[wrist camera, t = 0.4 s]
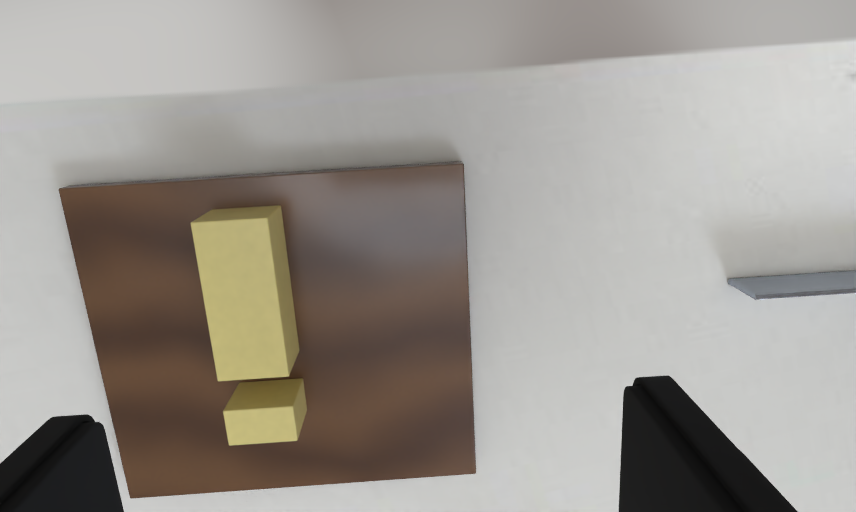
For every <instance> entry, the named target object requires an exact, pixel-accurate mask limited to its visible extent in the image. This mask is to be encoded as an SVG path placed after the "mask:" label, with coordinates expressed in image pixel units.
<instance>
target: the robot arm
mask: <svg viewBox="0 0 856 512" xmlns="http://www.w3.org/2000/svg"><path fill="white" fill-rule="evenodd" d="M0 512H124V511H123V506H122V502H121V498H120V493H119V489H118V485H117V480H116V476H115V472H114V468H113V463H112V459H111V455H110V450H109V446H108V442H107V437H106V433H105V429H104V427H103V425H102V424H101V423H99V422H95V421H94V419H93V418H92V417H91V416H89V415H73V416H58V417H52V418H50V419H49V420H48V421H46V422H45V423H44V424H43V425H42V426H41V427H40V428H39V429H38V430H37V431H36V432H34V433H33V434H32V435H31V436H30V437H29V438H28V439H27V440H26V441H25V442H24V443H22V444H21V445H20V446H19V447H18V448H17V449H16V450H15V451H14V452H13V453H12V454H10V455H9V456H8V457H7V458H6V459H5V460H4V461H3V462H2V463H1V464H0ZM619 512H797V511H796V510H795V508H794V507H793V506H792V505H791V504H790V503H789V502H788V501H787V500H786V499H785V498H784V497H783V496H782V495H781V493H780V492H779V491H778V490H777V489H776V488H775V487H774V486H773V485H772V484H771V483H770V482H769V481H768V480H767V478H766V477H765V476H764V475H763V474H762V473H761V472H760V471H759V470H758V469H757V468H756V467H755V466H754V465H753V463H752V462H751V461H750V460H749V459H748V458H747V457H746V456H745V455H744V454H743V453H742V452H741V451H740V450H739V449H738V448H737V447H736V446H735V445H734V444H733V443H732V442H731V441H730V440H729V439H728V438H727V437H726V436H725V434H724V433H723V432H722V431H721V430H720V429H719V428H718V427H717V426H716V425H715V424H714V423H713V422H712V421H711V419H710V418H709V417H708V416H707V415H706V414H705V413H704V412H703V411H702V410H701V409H700V408H699V407H698V406H697V404H696V403H695V402H694V401H693V400H692V399H691V398H690V397H689V396H688V395H687V394H686V393H685V392H684V390H683V389H682V388H681V387H680V386H679V385H678V384H677V383H676V382H675V381H674V380H673V379H672V378H671V377H670V376H654V377H639V378H636V379H635V380H634V383H633V386H627V387H626V388H625V390H624V397H623V422H622V446H621V470H620V495H619Z"/></svg>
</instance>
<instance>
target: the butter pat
mask: <svg viewBox="0 0 856 512" xmlns="http://www.w3.org/2000/svg"><path fill="white" fill-rule="evenodd" d="M306 412H307V405H306V398H305V390H304V382H303V379H302V378H300V379H286V380H271V381H256V382H242V383H239V384H238V386H237V388H236V389H235V391H234V393H233V395H232V396H231V398H230V400H229V402H228V403H227V405H226V407H225V409H224V410H223V414H224V420H225V426H226V432H227V438H228V443H229V445H230V446H231V445H245V444H259V443H273V442H288V441H297V440H298V437H299V434H300V431H301V428H302V424H303V421H304V418H305V415H306Z"/></svg>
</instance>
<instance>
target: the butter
mask: <svg viewBox="0 0 856 512" xmlns="http://www.w3.org/2000/svg"><path fill="white" fill-rule="evenodd" d="M191 229H192V235H193V240H194V246H195V252H196V258H197V264H198V269H199V275H200V281H201V287H202V293H203V298H204V304H205V310H206V316H207V322H208V327H209V333H210V339H211V345H212V351H213V356H214V362H215V368H216V374H217V380H218V381H232V380H247V379H261V378H276V377H288V376H289V375H290V372H291V370H292V367H293V365H294V363H295V360H296V358H297V355H298V353H299V343H298V335H297V327H296V319H295V312H294V304H293V296H292V288H291V280H290V272H289V265H288V257H287V249H286V241H285V233H284V226H283V218H282V210H281V206H280V205H277V206H261V207H245V208H229V209H214V210H210V211H209V212H207V213H206V214H204V215H202V216H201V217H199V218H197V219H196V220H194V221H192V222H191Z"/></svg>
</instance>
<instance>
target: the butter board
mask: <svg viewBox="0 0 856 512" xmlns="http://www.w3.org/2000/svg"><path fill="white" fill-rule="evenodd" d="M59 193H60V197H61V202H62V206H63V210H64V215H65V219H66V223H67V227H68V232H69V236H70V240H71V245H72V249H73V253H74V258H75V262H76V266H77V271H78V275H79V279H80V283H81V288H82V292H83V296H84V301H85V305H86V309H87V314H88V318H89V322H90V327H91V331H92V335H93V340H94V344H95V348H96V352H97V357H98V361H99V365H100V370H101V374H102V378H103V383H104V387H105V391H106V396H107V400H108V404H109V409H110V413H111V417H112V421H113V426H114V430H115V434H116V439H117V443H118V447H119V452H120V456H121V460H122V465H123V469H124V473H125V478H126V482H127V486H128V490H129V495H130V498H143V497H157V496H171V495H185V494H199V493H213V492H227V491H240V490H254V489H268V488H282V487H296V486H310V485H324V484H337V483H351V482H365V481H379V480H393V479H407V478H421V477H435V476H448V475H462V474H475V473H476V460H475V436H474V411H473V386H472V361H471V336H470V311H469V286H468V261H467V236H466V211H465V187H464V164H463V163H462V162H445V163H429V164H412V165H396V166H380V167H364V168H348V169H331V170H315V171H299V172H283V173H267V174H251V175H234V176H218V177H202V178H186V179H170V180H153V181H137V182H121V183H105V184H89V185H72V186H67V187H63V188H60V189H59ZM277 205H280V206H281V210H282V218H283V226H284V233H285V241H286V249H287V257H288V265H289V272H290V280H291V288H292V296H293V304H294V312H295V319H296V327H297V335H298V343H299V353H298V355H297V358H296V360H295V363H294V365H293V367H292V370H291V372H290V375H289V376H288V377H276V378H261V379H247V380H232V381H218V380H217V374H216V368H215V362H214V356H213V351H212V345H211V339H210V333H209V327H208V322H207V316H206V310H205V304H204V298H203V293H202V287H201V281H200V275H199V269H198V264H197V258H196V252H195V246H194V240H193V235H192V229H191V222H192V221H194V220H196V219H197V218H199V217H201V216H202V215H204V214H206V213H207V212H209V211H210V210H214V209H229V208H245V207H261V206H277ZM300 378H302V379H303V382H304V390H305V398H306V405H307V412H306V415H305V418H304V421H303V424H302V428H301V431H300V434H299V437H298V440H297V441H288V442H273V443H259V444H245V445H231V446H230V445H229V443H228V438H227V432H226V426H225V420H224V414H223V410H224V409H225V407H226V405H227V403H228V402H229V400H230V398H231V396H232V395H233V393H234V391H235V389H236V388H237V386H238V384H239V383H242V382H256V381H271V380H286V379H300Z"/></svg>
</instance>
